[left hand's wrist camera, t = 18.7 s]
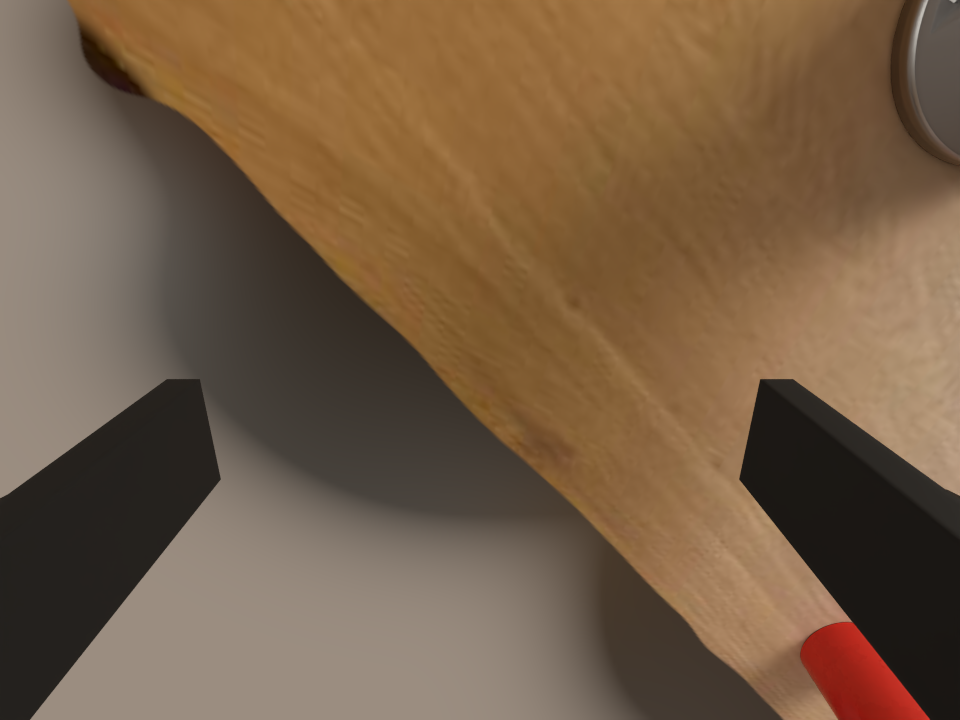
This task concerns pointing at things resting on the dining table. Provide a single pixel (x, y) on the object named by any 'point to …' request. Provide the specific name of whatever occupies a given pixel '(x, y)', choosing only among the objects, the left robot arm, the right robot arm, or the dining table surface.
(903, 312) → the dining table surface
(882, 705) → the cylinder
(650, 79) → the dining table surface
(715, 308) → the dining table surface
